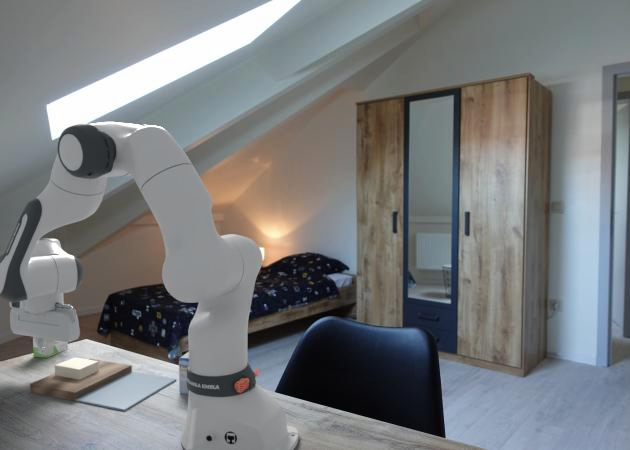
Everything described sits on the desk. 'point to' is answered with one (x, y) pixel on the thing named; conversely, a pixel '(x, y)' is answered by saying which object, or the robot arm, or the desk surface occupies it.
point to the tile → (76, 368)
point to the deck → (79, 381)
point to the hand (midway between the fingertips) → (45, 354)
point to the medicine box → (183, 373)
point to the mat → (126, 391)
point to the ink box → (57, 348)
